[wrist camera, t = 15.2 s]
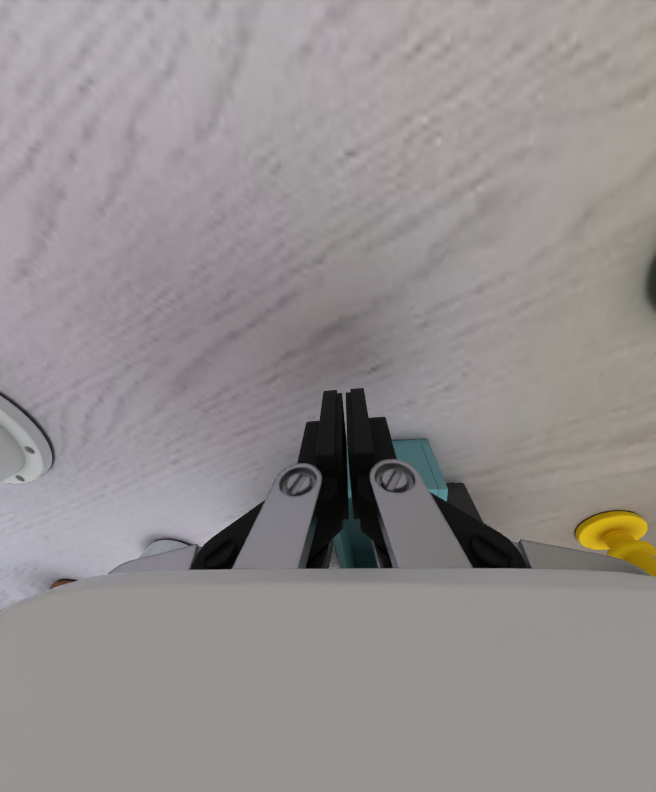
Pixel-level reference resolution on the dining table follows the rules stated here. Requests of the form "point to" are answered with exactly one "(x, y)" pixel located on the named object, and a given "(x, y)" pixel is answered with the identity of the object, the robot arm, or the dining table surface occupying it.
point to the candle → (619, 538)
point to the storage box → (351, 540)
